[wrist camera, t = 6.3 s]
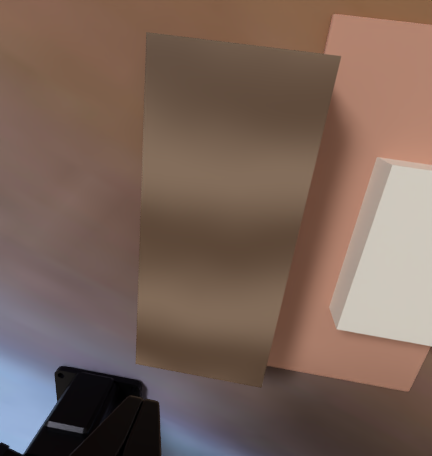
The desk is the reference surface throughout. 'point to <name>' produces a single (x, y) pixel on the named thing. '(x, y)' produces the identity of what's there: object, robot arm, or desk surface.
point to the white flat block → (390, 257)
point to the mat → (355, 196)
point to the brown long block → (223, 198)
